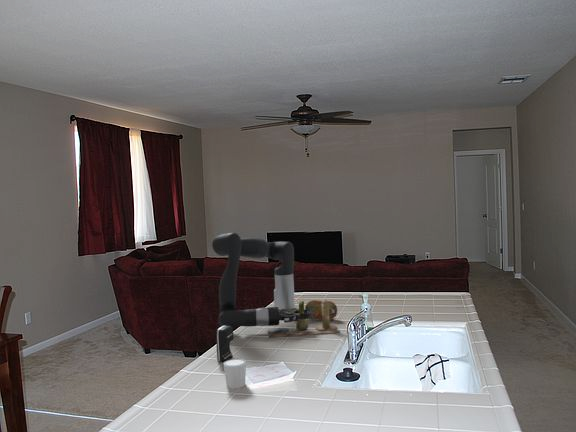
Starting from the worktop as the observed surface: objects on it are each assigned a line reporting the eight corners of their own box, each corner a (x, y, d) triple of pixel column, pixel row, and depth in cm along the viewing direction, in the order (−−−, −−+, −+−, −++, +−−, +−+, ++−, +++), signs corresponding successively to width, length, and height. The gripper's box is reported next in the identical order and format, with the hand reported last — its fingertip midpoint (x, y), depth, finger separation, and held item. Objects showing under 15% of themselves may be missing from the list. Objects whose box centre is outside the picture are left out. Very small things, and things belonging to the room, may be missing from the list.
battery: (226, 362, 177) (224, 330, 176) (216, 361, 178) (215, 329, 178) (235, 356, 183) (234, 324, 183) (226, 355, 185) (224, 324, 184)
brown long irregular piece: (268, 337, 205) (267, 308, 204) (267, 329, 217) (265, 301, 217) (340, 333, 207) (339, 303, 207) (334, 325, 220) (333, 297, 219)
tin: (305, 318, 234) (304, 300, 233) (308, 316, 237) (307, 298, 236) (335, 321, 227) (335, 302, 226) (338, 319, 230) (337, 300, 229)
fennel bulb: (302, 327, 218) (301, 299, 217) (311, 329, 215) (310, 301, 214) (293, 330, 213) (292, 302, 213) (302, 332, 210) (302, 303, 209)
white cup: (238, 390, 151) (236, 367, 151) (219, 387, 155) (218, 364, 154) (251, 383, 157) (250, 360, 157) (234, 379, 161) (232, 357, 160)
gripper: (267, 311, 205) (309, 308, 207) (265, 304, 220) (305, 301, 221) (268, 330, 206) (310, 327, 207) (266, 321, 220) (305, 318, 221)
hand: (307, 314), depth 214 cm, fingers closed on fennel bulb, 6 cm apart
